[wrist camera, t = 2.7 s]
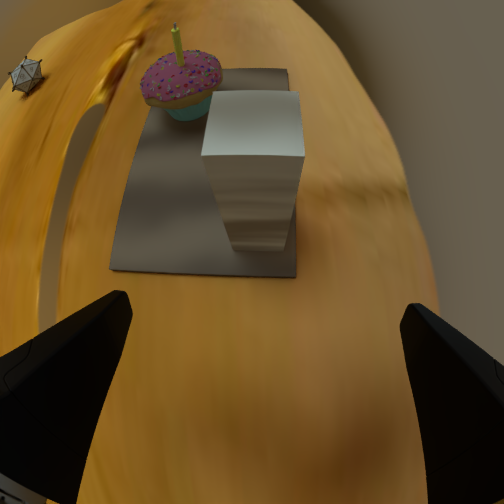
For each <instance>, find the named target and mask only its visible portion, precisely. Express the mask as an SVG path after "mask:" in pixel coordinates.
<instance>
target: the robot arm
mask: <svg viewBox="0 0 504 504" xmlns="http://www.w3.org/2000/svg"><path fill="white" fill-rule="evenodd" d="M132 316H133V312H132V308H131V305H130V301H129V298H128V295H127V293H126V292H125V291H120V290H114V291H112V292H110V293H108V294H107V295H105V296H103V297H101V298H100V299H98V300H96V301H94V302H93V303H91V304H89V305H87V306H86V307H84V308H82V309H81V310H79V311H77V312H75V313H74V314H72V315H70V316H69V317H67V318H65V319H64V320H62V321H60V322H59V323H57V324H55V325H54V326H52V327H51V328H49V329H47V330H46V331H44V332H42V333H40V334H39V335H37V336H36V337H34V338H33V339H31V340H29V341H27V342H26V343H24V344H23V345H21V346H19V347H18V348H16V349H14V350H13V351H11V352H9V353H7V354H5V355H3V356H2V357H0V504H47V503H46V501H47V499H50V500H52V501H54V502H56V503H59V504H76V502H77V497H78V493H79V488H80V484H81V480H82V476H83V472H84V468H85V464H86V460H87V456H88V453H89V449H90V446H91V442H92V439H93V435H94V432H95V429H96V426H97V423H98V419H99V416H100V413H101V410H102V407H103V404H104V401H105V399H106V396H107V393H108V390H109V387H110V385H111V382H112V379H113V376H114V374H115V371H116V368H117V366H118V363H119V361H120V358H121V355H122V352H123V348H124V345H125V341H126V337H127V334H128V330H129V327H130V324H131V320H132ZM400 333H401V338H402V344H403V350H404V356H405V362H406V368H407V372H408V376H409V380H410V385H411V389H412V393H413V398H414V402H415V407H416V412H417V417H418V422H419V428H420V433H421V440H422V446H423V453H424V461H425V469H426V476H427V477H426V481H427V494H428V504H504V366H503V365H502V364H500V363H499V362H498V361H497V360H495V359H493V357H491V356H490V355H489V354H488V353H487V352H485V351H484V350H483V349H481V348H480V347H479V346H477V345H476V344H475V343H474V342H472V341H471V340H470V339H468V338H467V337H466V336H464V335H463V334H462V333H461V332H459V331H458V330H457V329H455V328H453V327H452V326H451V325H450V324H448V323H447V322H446V321H444V320H443V319H442V318H440V317H439V316H437V315H436V314H435V313H433V312H432V311H430V310H429V309H428V308H426V307H425V306H423V305H422V304H420V303H411V304H409V305H408V306H407V308H406V310H405V313H404V315H403V318H402V320H401V322H400Z"/></svg>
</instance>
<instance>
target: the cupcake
mask: <svg viewBox="0 0 504 504" xmlns="http://www.w3.org/2000/svg"><path fill="white" fill-rule="evenodd" d="M171 32H172V37H173V43H174V48H175V53H174V52H173V53H171V54H170V53H169V54H167V55H165V56H162V58H159V59H158V61H157V62H155V63H154V64H153V65H150V66H151V67H150V68H149V69H148V70H147V72H145V74H144V76H143V78H142V79H141V83H140V85H141V87H140V89H141V90H142V94H143V97H144V99H145V102H146V104H147V105H149V106H154V107H158V108H163V109H164V110H166V111H167V112H168V113H169V114H170V115H171V116H172V117H173V118H174V119H176V120H179V121H191V120H195V119H198V118H200V117H202V116H203V115H205V114H206V113H207V112H208V111H209V109H210V104H211V100H212V95H213V92H214V91H216V90H217V88H218V86H219V85H220V84H221V82H222V81H223V72H222V68H221V65H220V63H219V61H218V60H217V59H216V57H215V56H213V55H210V54H208V53H205V52H200V51H199V50H196V51H194V50H191V51H189V50H186V51H183V50H182V44H181V38H180V31H179V28H176V22H175V23H174V28H173V29H172V30H171Z"/></svg>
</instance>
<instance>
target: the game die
mask: <svg viewBox="0 0 504 504" xmlns="http://www.w3.org/2000/svg"><path fill="white" fill-rule="evenodd" d="M41 61H42V59H41V60H40V61H39V62H38V61H34V60H30V59H27V56H25V60H24V61H23V62H22V63H21V64H20V65H19V66H17V67H16V68H15V69H14V70H13V71H12V72H11V73H10V72H9V73H8V74H11V78H12V83H13V88H12V89H13V90H12V92H13V91H14V90H18V91H22V92H25V93H27V96H28V95H29V94H28V92H29V91H30V90H31V89H32V88H33V87H34V86H35V85H36V84H37V83H38V82H39V81H40V80H41V79H45V78H44V77H42V74H41V68H40V62H41Z"/></svg>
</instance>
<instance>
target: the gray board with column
mask: <svg viewBox="0 0 504 504" xmlns="http://www.w3.org/2000/svg"><path fill="white" fill-rule="evenodd" d="M222 72H223V81H222V82H221V84H220V85H219V86H218V88H217V90H216V91H214V92H213V95H212V100H211V104H210V109H209V111H208V112H207V113H206V114H205V115H203V116H202V117H200V118H198V119H195V120H191V121H179V120H176V119H174V118H173V117H172V116H171V115H170V114H169V113H168V112H167V111H166V110H164V109H163V108H158V107H154V106H151V109H150V111H149V114H148V117H147V120H146V122H145V125H144V128H143V131H142V134H141V137H140V140H139V143H138V146H137V149H136V152H135V156H134V159H133V162H132V166H131V169H130V173H129V176H128V180H127V184H126V188H125V191H124V195H123V200H122V204H121V208H120V212H119V217H118V222H117V226H116V231H115V237H114V242H113V247H112V253H111V259H110V266H109V269H110V270H113V271H129V272H147V273H166V274H187V275H210V276H238V277H274V278H296V224H295V200H296V195H297V191H298V186H299V182H300V177H301V172H302V168H303V163H304V158H305V151H304V140H303V129H302V119H301V109H300V100H299V92H296V91H289V88H288V76H287V69H277V68H237V69H222Z"/></svg>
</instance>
